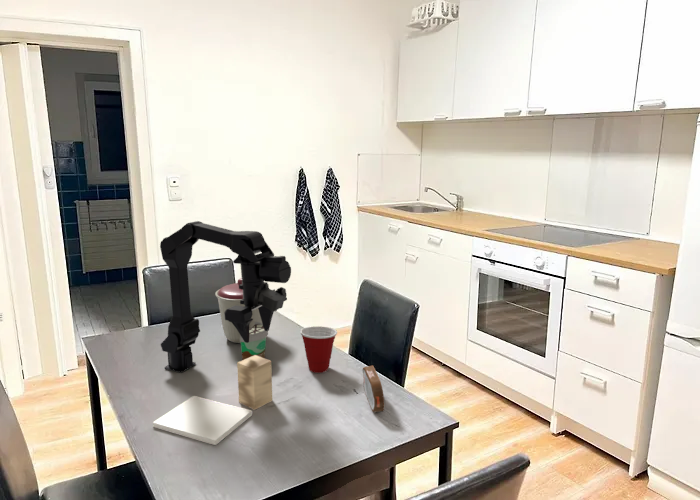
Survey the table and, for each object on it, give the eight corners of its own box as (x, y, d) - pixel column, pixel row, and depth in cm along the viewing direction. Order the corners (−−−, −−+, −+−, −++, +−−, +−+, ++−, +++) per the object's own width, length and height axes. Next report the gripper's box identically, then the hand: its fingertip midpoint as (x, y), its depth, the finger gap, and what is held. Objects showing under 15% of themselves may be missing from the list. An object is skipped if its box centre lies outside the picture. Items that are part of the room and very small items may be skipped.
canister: (229, 327, 184) (226, 270, 179) (278, 329, 181) (276, 272, 177) (209, 346, 166) (205, 284, 162) (262, 349, 164) (260, 286, 159)
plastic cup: (343, 364, 153) (343, 327, 150) (326, 379, 143) (326, 339, 141) (311, 358, 157) (311, 321, 155) (293, 372, 148) (293, 333, 145)
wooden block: (239, 402, 131) (237, 362, 128) (256, 393, 135) (255, 354, 133) (254, 409, 127) (253, 369, 125) (272, 400, 132) (271, 360, 129)
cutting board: (153, 426, 119) (152, 422, 119) (193, 399, 132) (193, 395, 132) (215, 445, 112) (215, 440, 112) (252, 414, 125) (251, 410, 124)
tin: (385, 417, 124) (385, 386, 122) (372, 419, 123) (372, 387, 121) (372, 388, 138) (372, 360, 136) (361, 389, 138) (361, 360, 136)
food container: (260, 369, 150) (259, 337, 148) (240, 367, 151) (239, 335, 149) (274, 352, 162) (273, 322, 160) (256, 350, 163) (255, 321, 161)
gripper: (257, 291, 122) (262, 353, 125) (297, 273, 139) (300, 328, 142) (220, 288, 127) (225, 347, 130) (263, 271, 143) (267, 324, 146)
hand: (257, 336), depth 137 cm, fingers open, 9 cm apart
